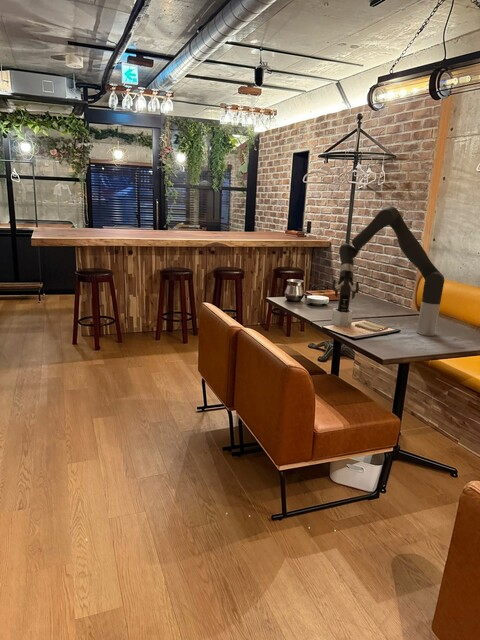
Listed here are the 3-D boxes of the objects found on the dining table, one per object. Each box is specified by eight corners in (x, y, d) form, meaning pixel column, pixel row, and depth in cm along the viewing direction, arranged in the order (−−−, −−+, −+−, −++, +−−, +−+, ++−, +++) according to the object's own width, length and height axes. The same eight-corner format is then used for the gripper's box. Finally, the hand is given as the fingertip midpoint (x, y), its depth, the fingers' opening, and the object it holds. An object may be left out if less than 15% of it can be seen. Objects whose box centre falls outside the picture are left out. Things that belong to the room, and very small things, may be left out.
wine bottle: (346, 326, 251) (353, 271, 244) (336, 324, 252) (342, 270, 245) (346, 323, 257) (353, 270, 249) (336, 322, 258) (342, 269, 250)
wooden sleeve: (338, 320, 261) (340, 307, 259) (354, 325, 254) (356, 311, 252) (328, 323, 254) (329, 309, 252) (343, 327, 247) (345, 313, 245)
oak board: (367, 322, 261) (367, 321, 261) (387, 328, 252) (388, 326, 252) (354, 326, 252) (354, 324, 252) (375, 331, 243) (376, 329, 243)
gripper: (334, 268, 256) (332, 292, 248) (360, 270, 253) (358, 294, 245) (333, 276, 262) (330, 299, 254) (358, 278, 260) (357, 302, 252)
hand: (344, 297), depth 250 cm, fingers open, 8 cm apart
